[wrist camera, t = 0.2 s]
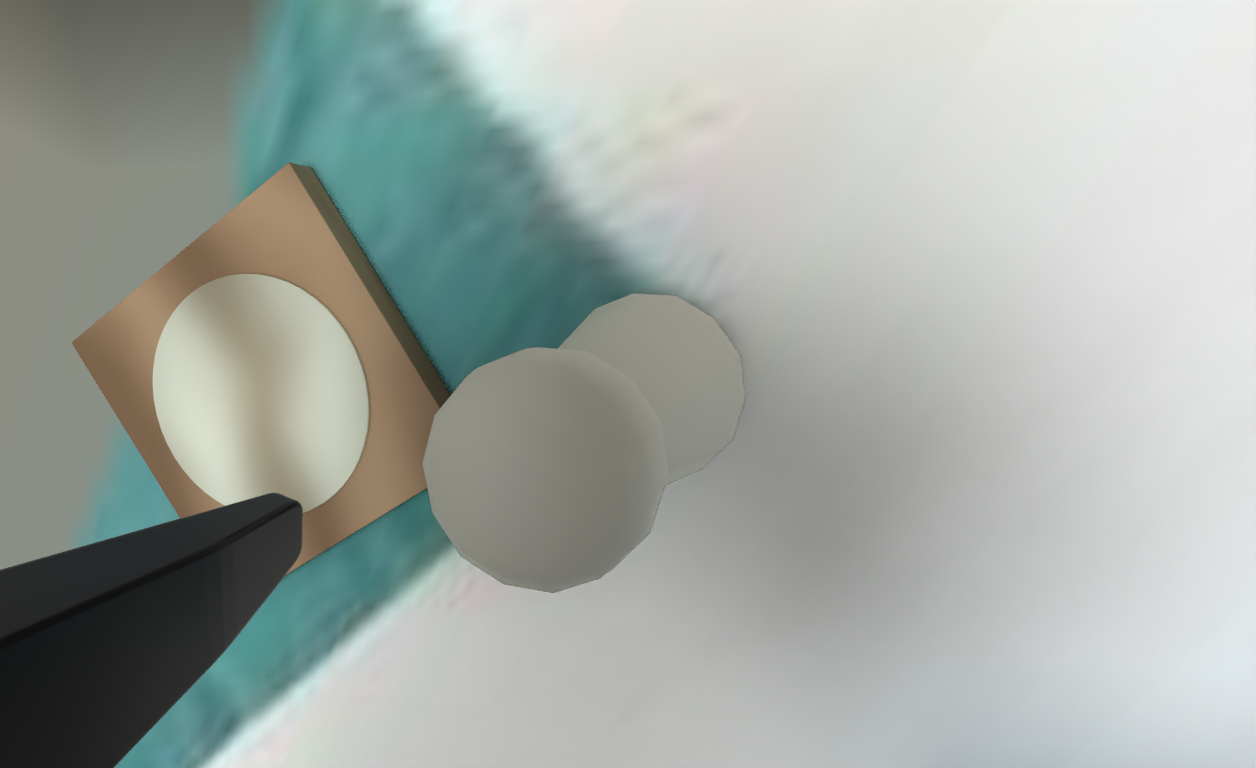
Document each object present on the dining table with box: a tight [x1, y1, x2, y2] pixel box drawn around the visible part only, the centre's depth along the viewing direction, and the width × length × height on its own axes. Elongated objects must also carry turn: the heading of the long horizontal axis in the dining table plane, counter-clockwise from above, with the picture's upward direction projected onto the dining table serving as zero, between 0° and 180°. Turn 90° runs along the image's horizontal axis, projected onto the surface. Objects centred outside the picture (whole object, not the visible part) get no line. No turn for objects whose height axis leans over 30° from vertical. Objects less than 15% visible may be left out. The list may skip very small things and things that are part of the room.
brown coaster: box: [72, 163, 451, 575], centre depth 27 cm, size 12×12×1 cm
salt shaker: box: [422, 293, 745, 593], centre depth 18 cm, size 6×6×13 cm
